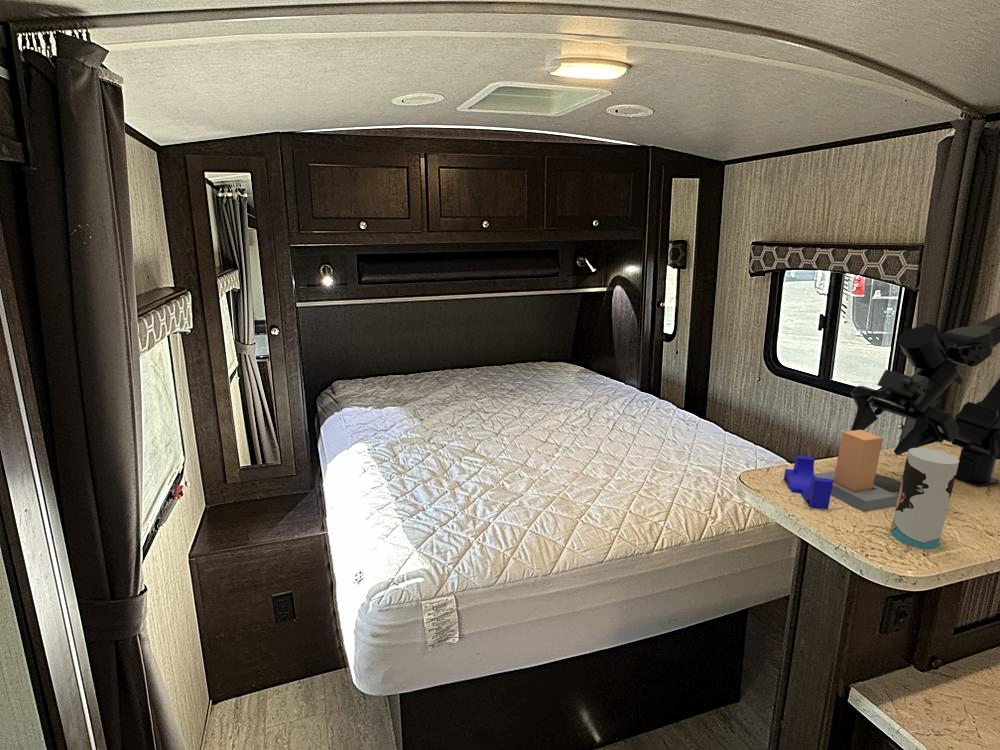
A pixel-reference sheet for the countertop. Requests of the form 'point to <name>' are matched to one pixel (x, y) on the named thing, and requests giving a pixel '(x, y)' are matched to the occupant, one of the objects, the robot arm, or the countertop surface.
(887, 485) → the coaster
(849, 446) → the tan rectangular block
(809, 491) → the cable clip
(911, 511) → the cup
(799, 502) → the countertop surface
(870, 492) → the socket block
